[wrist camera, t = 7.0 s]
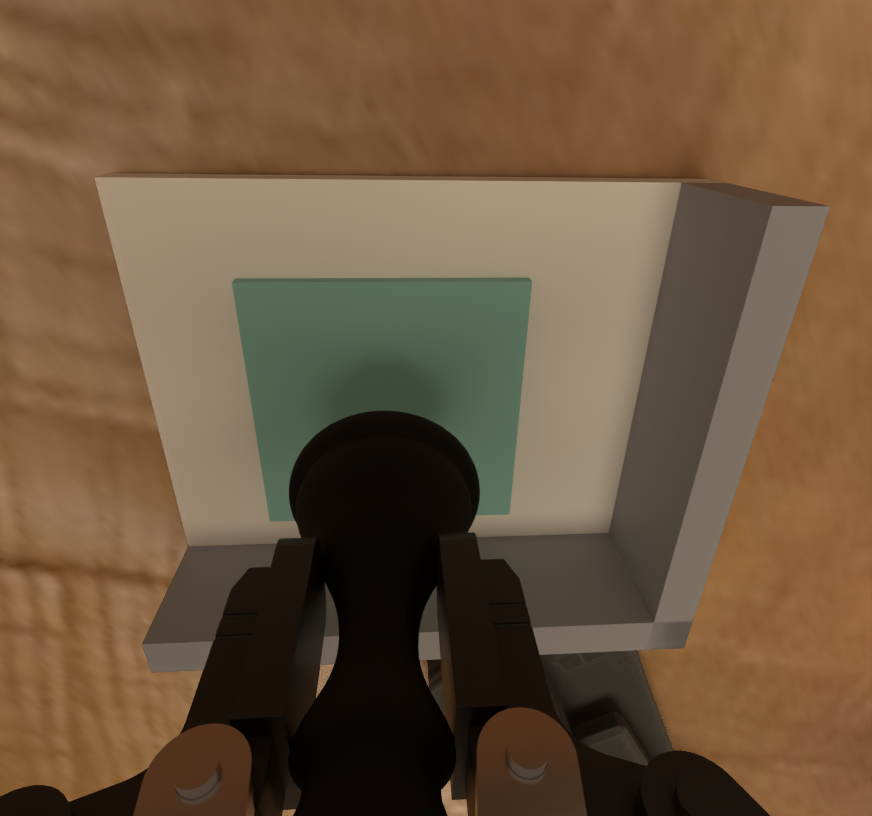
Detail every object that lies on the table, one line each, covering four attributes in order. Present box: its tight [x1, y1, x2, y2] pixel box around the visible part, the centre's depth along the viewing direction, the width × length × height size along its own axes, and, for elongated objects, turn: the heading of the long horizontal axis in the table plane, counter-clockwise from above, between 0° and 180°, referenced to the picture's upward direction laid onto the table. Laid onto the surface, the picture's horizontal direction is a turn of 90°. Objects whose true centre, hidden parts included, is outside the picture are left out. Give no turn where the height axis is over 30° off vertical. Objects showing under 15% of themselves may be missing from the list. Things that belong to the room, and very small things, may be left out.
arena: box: [95, 173, 830, 673], centre depth 16 cm, size 16×13×5 cm
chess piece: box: [288, 411, 480, 816], centre depth 9 cm, size 4×4×10 cm
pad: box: [232, 278, 532, 522], centre depth 17 cm, size 8×8×1 cm
